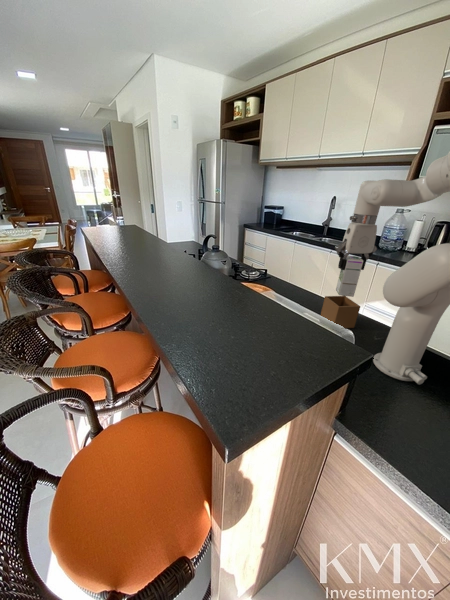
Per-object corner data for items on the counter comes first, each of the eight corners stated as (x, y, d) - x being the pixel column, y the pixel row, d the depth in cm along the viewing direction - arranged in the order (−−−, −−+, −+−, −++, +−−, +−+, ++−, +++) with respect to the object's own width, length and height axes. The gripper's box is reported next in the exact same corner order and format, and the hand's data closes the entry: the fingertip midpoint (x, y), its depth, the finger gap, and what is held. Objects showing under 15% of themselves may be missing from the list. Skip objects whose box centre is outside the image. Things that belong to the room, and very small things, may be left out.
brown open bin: (354, 327, 99) (360, 306, 95) (333, 328, 98) (338, 306, 94) (339, 315, 108) (345, 295, 104) (320, 316, 107) (324, 296, 103)
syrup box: (354, 297, 95) (365, 260, 89) (337, 295, 96) (347, 258, 90) (350, 291, 100) (360, 256, 94) (334, 289, 101) (343, 254, 95)
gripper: (347, 220, 81) (335, 272, 89) (394, 222, 84) (378, 272, 92) (335, 217, 88) (324, 266, 96) (378, 219, 91) (364, 266, 98)
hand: (350, 268), depth 93 cm, fingers closed on syrup box, 7 cm apart
